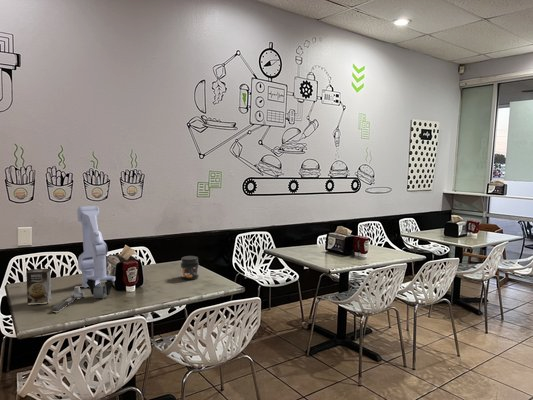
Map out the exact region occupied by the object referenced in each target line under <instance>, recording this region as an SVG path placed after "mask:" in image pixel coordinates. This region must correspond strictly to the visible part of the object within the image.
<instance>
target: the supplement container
mask: <svg viewBox="0 0 533 400" xmlns="http://www.w3.org/2000/svg"><path fill="white" fill-rule="evenodd" d="M180 260H181V262H180V278H181V279H182V280H186V281H193V280H197V279H198V278H199V277H200V275H199V272H200V271H199V265H200V263H199V257H198V256H195V255H186V256H183V257H181V258H180Z"/></svg>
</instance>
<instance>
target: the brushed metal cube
mask: <svg viewBox="0 0 533 400" xmlns="http://www.w3.org/2000/svg"><path fill="white" fill-rule="evenodd" d="M93 292H94V294H93V299H94V298H104V299H105V298H107V297H108V296H109V295H107V294H106V284H105V283H100V284H97V285H95V286H94V287H93ZM106 296H107V297H106Z"/></svg>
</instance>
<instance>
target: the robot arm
mask: <svg viewBox="0 0 533 400" xmlns="http://www.w3.org/2000/svg"><path fill="white" fill-rule="evenodd" d="M76 213H77V221H78V222H80V223H81V227H82V231H81V232H82V247H83V252H81V254H79V256H78V259H77V260H78V261H77V266H78V269H79V271H81V285H82V286H84V287H89V288H88V289H90V290H89V291H90V293H91V295H93V296H94V292H93V287H94V286H95V285H97V284H99V283H100V284H102V283H101V282H102V281H105V282H104V284H106V294H107V295H108V296H110V294H111V289H112V286H113V284H114V282H115V281H116V276H113V275H109V274H108V275H107V255H108V245H107V243H106V242H105V241H104V238H103V233H102V232H101V231H99V225H98V219H99V216H100V208H99V206H98V205H92V206H91V205H90V206H89V205H88V206H78V207H77V211H76Z"/></svg>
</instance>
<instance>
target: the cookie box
mask: <svg viewBox="0 0 533 400" xmlns="http://www.w3.org/2000/svg"><path fill="white" fill-rule="evenodd" d="M25 274H26V275H25V276H26V295H27V296H26V297H27V298H26V299H27V303H44V302H49V300H50V299H51V300H52V291H51V268H35V269H33V268H31V269H29V270H27V271H26V272H25ZM49 303H50V302H49Z"/></svg>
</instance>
